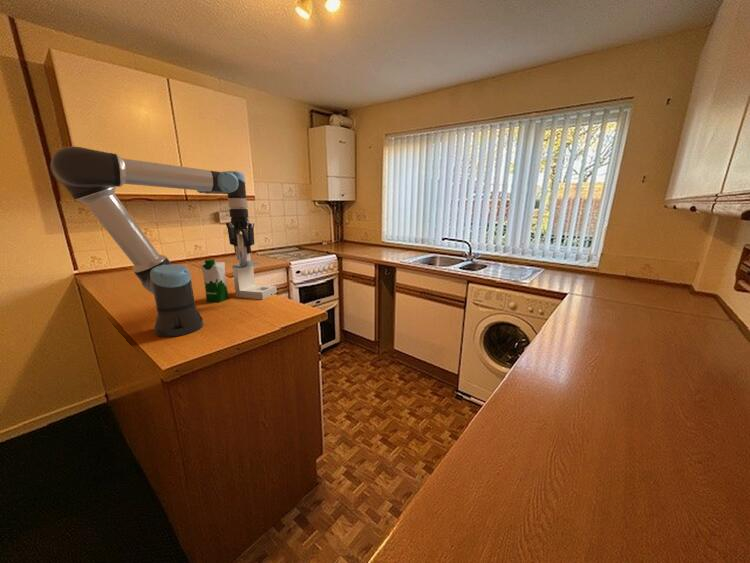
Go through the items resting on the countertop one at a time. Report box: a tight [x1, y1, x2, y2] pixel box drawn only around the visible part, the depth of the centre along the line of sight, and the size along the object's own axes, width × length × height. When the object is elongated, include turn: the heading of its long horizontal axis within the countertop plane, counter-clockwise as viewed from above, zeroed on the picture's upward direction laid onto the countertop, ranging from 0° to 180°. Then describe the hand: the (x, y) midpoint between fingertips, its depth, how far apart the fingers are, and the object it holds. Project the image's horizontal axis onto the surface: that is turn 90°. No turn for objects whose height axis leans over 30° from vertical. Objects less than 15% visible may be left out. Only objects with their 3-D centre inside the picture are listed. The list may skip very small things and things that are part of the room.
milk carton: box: [199, 258, 229, 303], centre depth 142 cm, size 9×9×20 cm
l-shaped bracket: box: [232, 260, 278, 300], centre depth 151 cm, size 12×16×16 cm
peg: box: [236, 233, 250, 268], centre depth 136 cm, size 4×4×15 cm
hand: (243, 260), depth 138 cm, fingers closed on peg, 4 cm apart
